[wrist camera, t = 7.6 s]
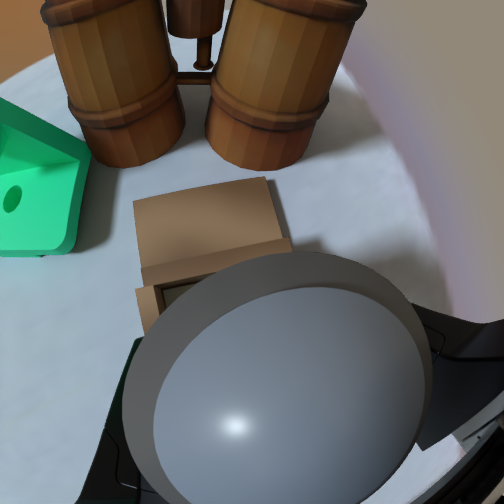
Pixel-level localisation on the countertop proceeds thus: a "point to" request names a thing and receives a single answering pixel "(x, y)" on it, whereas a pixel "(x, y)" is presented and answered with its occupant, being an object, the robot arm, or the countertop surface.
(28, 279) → the countertop surface
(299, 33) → the binoculars
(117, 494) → the robot arm
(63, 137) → the camera mount
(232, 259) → the brown square-cornered frame
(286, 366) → the grey round-topped cylinder
